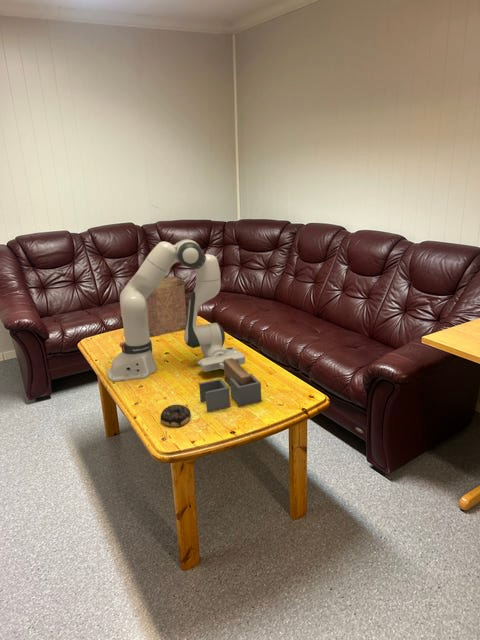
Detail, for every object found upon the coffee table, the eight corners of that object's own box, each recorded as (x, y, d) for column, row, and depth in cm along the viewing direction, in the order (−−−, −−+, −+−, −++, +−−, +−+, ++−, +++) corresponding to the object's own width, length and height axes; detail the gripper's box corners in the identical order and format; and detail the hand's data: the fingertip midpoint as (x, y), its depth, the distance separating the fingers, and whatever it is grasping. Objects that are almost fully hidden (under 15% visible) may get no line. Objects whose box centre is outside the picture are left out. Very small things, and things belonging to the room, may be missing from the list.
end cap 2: (239, 406, 175) (238, 387, 172) (230, 396, 183) (229, 378, 181) (261, 401, 178) (260, 382, 176) (252, 391, 186) (251, 373, 184)
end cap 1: (230, 406, 175) (229, 388, 173) (207, 412, 172) (206, 393, 170) (222, 396, 184) (220, 378, 181) (200, 401, 181) (198, 383, 178)
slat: (242, 400, 179) (241, 378, 176) (225, 380, 197) (223, 359, 194) (251, 398, 181) (250, 375, 177) (233, 378, 198) (232, 357, 195)
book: (146, 338, 252) (139, 285, 242) (140, 333, 260) (134, 282, 250) (188, 329, 264) (183, 278, 254) (182, 324, 271) (177, 275, 262)
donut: (158, 428, 163) (157, 418, 162) (164, 411, 175) (163, 402, 173) (188, 427, 163) (188, 418, 162) (193, 411, 174) (192, 401, 173)
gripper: (195, 355, 204) (205, 366, 191) (237, 346, 211) (249, 357, 198) (196, 367, 206) (206, 379, 193) (238, 359, 213) (250, 370, 200)
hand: (228, 368), depth 196 cm, fingers closed, pressing on slat
